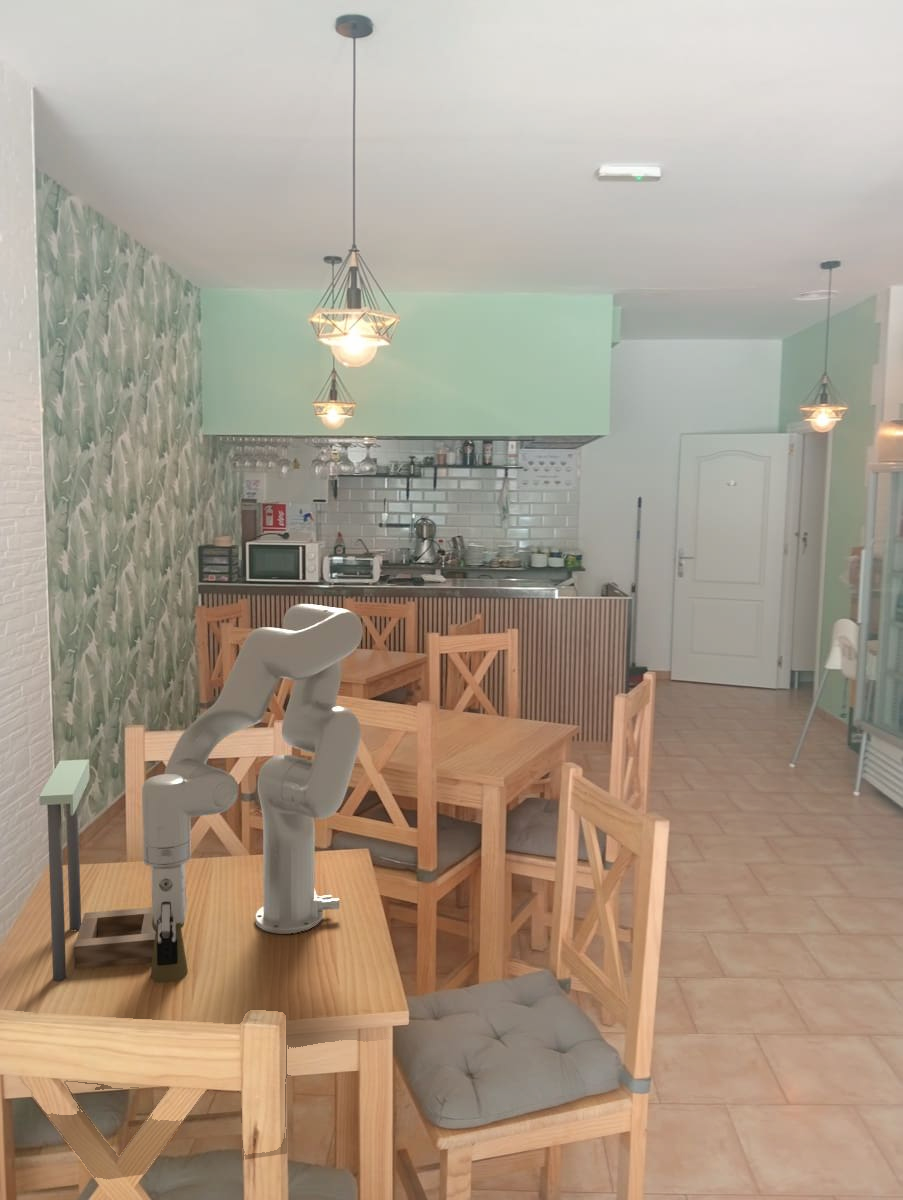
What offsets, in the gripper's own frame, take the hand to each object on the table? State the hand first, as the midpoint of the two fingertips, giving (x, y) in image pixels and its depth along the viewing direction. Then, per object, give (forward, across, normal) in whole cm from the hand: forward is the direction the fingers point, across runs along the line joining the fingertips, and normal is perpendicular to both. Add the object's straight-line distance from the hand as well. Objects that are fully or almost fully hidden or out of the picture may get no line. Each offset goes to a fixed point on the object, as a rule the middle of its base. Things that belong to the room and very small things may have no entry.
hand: (168, 951), depth 159 cm
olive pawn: (+4, 0, 0) cm, 4 cm away
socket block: (+4, +11, +9) cm, 15 cm away
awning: (+4, +11, +17) cm, 21 cm away
